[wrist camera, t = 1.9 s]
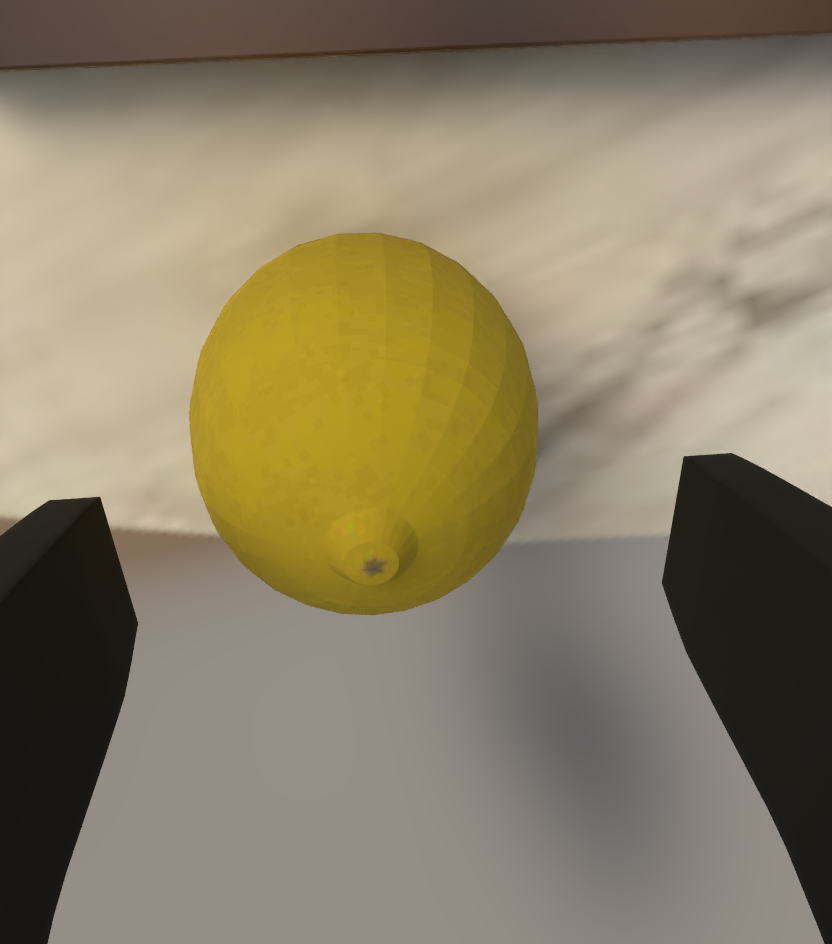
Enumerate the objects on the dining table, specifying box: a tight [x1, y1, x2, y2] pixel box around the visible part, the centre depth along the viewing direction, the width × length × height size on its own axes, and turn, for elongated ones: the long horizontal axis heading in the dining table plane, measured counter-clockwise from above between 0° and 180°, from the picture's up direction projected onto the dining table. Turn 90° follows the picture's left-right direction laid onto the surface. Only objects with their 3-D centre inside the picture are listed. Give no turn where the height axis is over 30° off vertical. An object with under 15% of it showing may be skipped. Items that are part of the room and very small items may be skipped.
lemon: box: [189, 233, 538, 615], centre depth 13 cm, size 6×6×8 cm
